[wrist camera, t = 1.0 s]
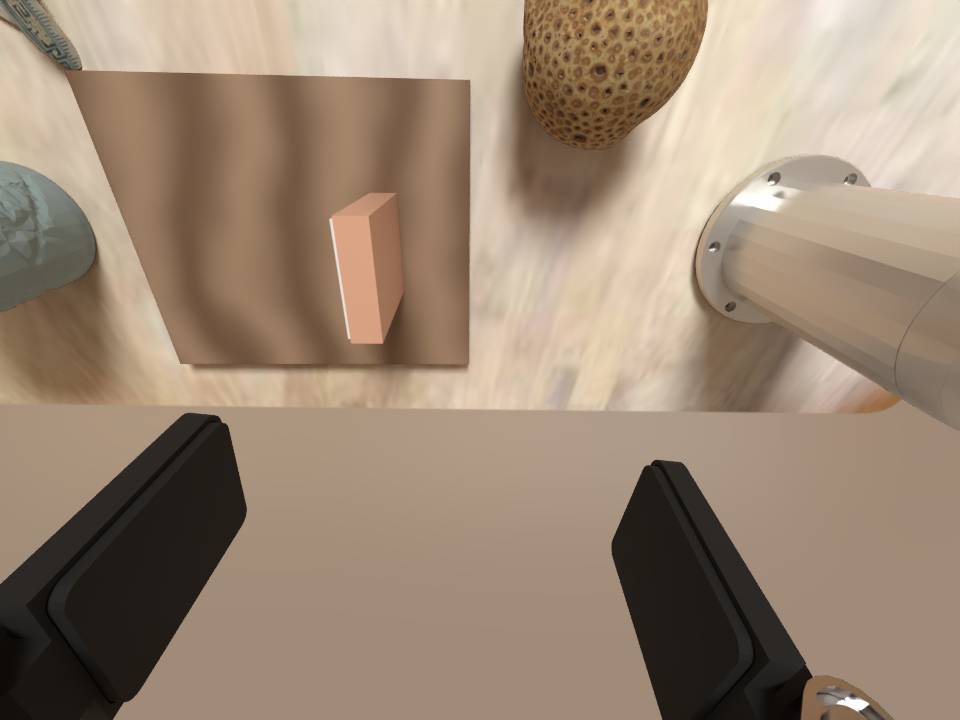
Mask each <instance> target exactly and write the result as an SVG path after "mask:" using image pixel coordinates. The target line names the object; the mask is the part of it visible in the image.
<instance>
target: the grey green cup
mask: <svg viewBox="0 0 960 720" xmlns="http://www.w3.org/2000/svg"><path fill="white" fill-rule="evenodd" d="M95 254H96V244H95V238H94V234H93V231H92V228H91V226H90V224H89V222H88V220H87V218H86V216H85V214H84V213H83V211H82V210H81V208H80V207H79V206H78V205H77V203H76V202H75V201H74V200H73V199H72V198H71V197H70V196H69V195H68V194H67V193H66V192H65V191H64V190H63V189H62V188H60V187H59V186H58V185H57V184H55V183H54V182H52V181H51V180H50V179H48V178H47V177H45V176H43V175H41V174H40V173H38V172H36V171H34V170H32V169H29V168H27V167H24V166H21V165H18V164H14V163H9V162H4V161H0V312H2V311H7V310H9V309H11V308H14V307H16V306H17V305H19V304H21V303H24V302H27V301H29V300H31V299H33V298H35V297H37V296H40V295H42V294H43V292H44V291H45V290H50V289H56V288H58V287H61V286H63V285H65V284H68V283H70V282H72V281H74V280H76V279H78V278H80V277H81V276H83V275H84V274H85V273H86V272H87V271H88V270H89V268H90V267H91V266H92V264H93V262H94V259H95Z"/></svg>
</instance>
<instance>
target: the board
mask: <svg viewBox="0 0 960 720" xmlns="http://www.w3.org/2000/svg"><path fill="white" fill-rule="evenodd" d="M65 73H66V75H67V78H68V80H69V83H70V85H71V88H72V91H73V93H74V96H75V98H76V101H77V103H78V106H79V108H80V111H81V113H82V116H83V118H84V121H85V123H86V126H87V128H88V131H89V134H90V136H91V139H92V141H93V144H94V146H95V149H96V151H97V154H98V156H99V159H100V161H101V164H102V166H103V169H104V171H105V174H106V177H107V179H108V182H109V184H110V187H111V189H112V192H113V194H114V197H115V199H116V202H117V204H118V207H119V209H120V212H121V214H122V217H123V219H124V222H125V225H126V227H127V230H128V232H129V235H130V237H131V240H132V242H133V245H134V247H135V250H136V252H137V255H138V257H139V260H140V262H141V265H142V268H143V270H144V273H145V275H146V278H147V280H148V283H149V285H150V288H151V290H152V293H153V295H154V298H155V300H156V303H157V305H158V308H159V310H160V313H161V316H162V318H163V321H164V323H165V326H166V328H167V331H168V333H169V336H170V338H171V341H172V343H173V346H174V348H175V351H176V353H177V356H178V359H179V361H180V364H469V216H470V80H447V79H406V78H366V77H325V76H284V75H243V74H203V73H162V72H121V71H80V70H65ZM369 193H397V204H398V217H399V230H400V243H401V256H402V269H403V282H404V293H403V295H402V297H401V300H400V302H399V305H398V307H397V310H396V312H395V315H394V317H393V320H392V322H391V325H390V327H389V330H388V332H387V335H386V337H385V339H384V342H383V344H355V343H351V339H348V335H347V329H346V322H345V316H344V309H343V303H342V297H341V290H340V284H339V278H338V271H337V265H336V259H335V252H334V246H333V240H332V233H331V227H330V221H329V219H330V218H332V215H333V214H335V213H337V212H339V211H340V210H342V209H344V208H345V207H347V206H349V205H350V204H352V203H354V202H355V201H357V200H359V199H360V198H362V197H364V196H365V195H367V194H369Z"/></svg>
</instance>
